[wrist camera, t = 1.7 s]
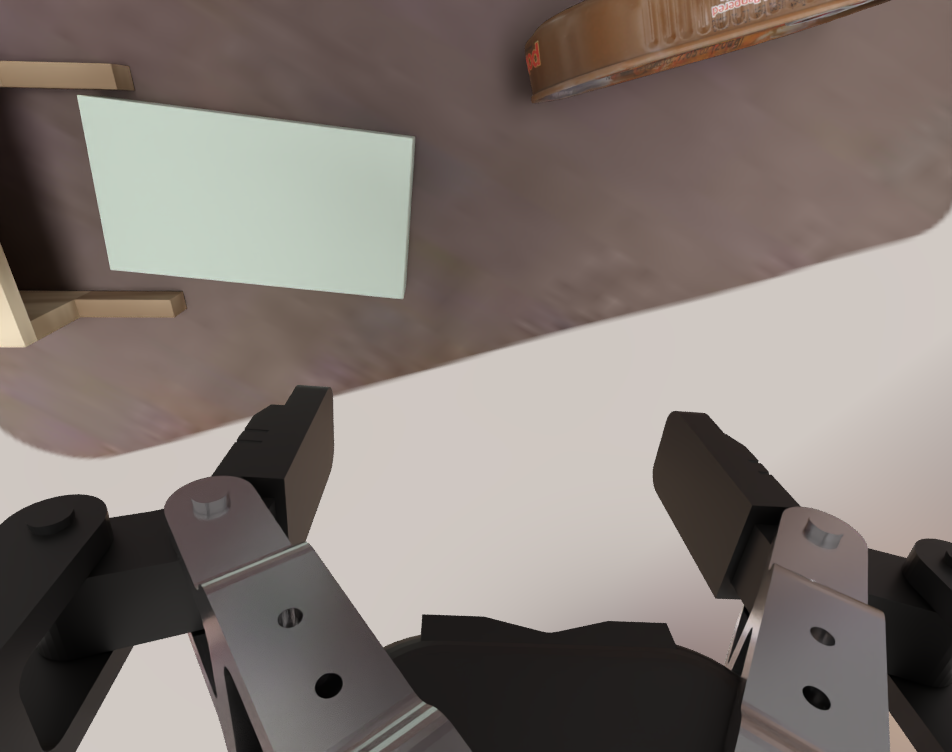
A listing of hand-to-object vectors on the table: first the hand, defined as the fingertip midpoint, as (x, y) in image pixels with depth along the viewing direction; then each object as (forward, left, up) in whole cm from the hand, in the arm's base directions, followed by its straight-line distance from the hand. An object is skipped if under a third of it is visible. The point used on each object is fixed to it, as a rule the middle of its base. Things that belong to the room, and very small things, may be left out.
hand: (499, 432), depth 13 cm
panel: (-2, -11, -19) cm, 22 cm away
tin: (-10, +9, -19) cm, 24 cm away
